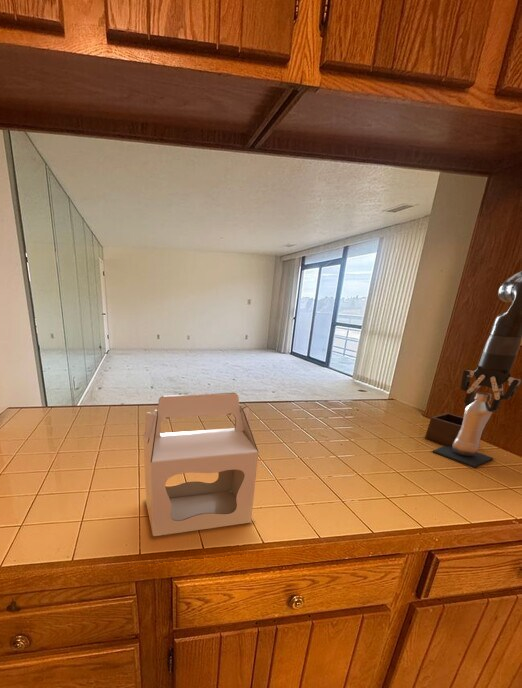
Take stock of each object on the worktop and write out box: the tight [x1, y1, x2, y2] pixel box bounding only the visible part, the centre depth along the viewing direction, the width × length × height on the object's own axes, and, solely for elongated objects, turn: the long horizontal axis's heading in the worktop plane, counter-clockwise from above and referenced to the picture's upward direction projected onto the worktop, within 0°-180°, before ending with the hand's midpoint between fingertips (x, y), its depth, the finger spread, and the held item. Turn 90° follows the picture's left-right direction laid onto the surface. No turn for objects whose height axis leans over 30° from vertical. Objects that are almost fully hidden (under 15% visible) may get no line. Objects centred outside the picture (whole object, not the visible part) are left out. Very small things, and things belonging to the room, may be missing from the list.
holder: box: [424, 412, 464, 446], centre depth 121 cm, size 11×10×8 cm
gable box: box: [142, 392, 259, 537], centre depth 74 cm, size 22×13×28 cm, turn 104°
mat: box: [432, 445, 494, 469], centre depth 111 cm, size 12×12×1 cm
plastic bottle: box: [452, 391, 493, 456], centre depth 107 cm, size 6×7×20 cm
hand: (479, 408), depth 104 cm, fingers closed on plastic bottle, 5 cm apart
